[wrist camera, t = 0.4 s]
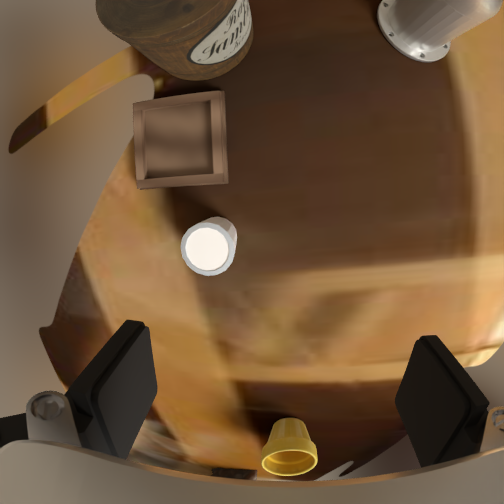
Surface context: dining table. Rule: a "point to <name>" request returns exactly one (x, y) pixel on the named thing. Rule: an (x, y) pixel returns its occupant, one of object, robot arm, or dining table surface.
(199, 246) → the white cup
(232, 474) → the owl
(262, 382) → the dining table surface
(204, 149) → the square wooden tray
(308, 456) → the plant pot
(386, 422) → the dining table surface
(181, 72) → the wooden container
